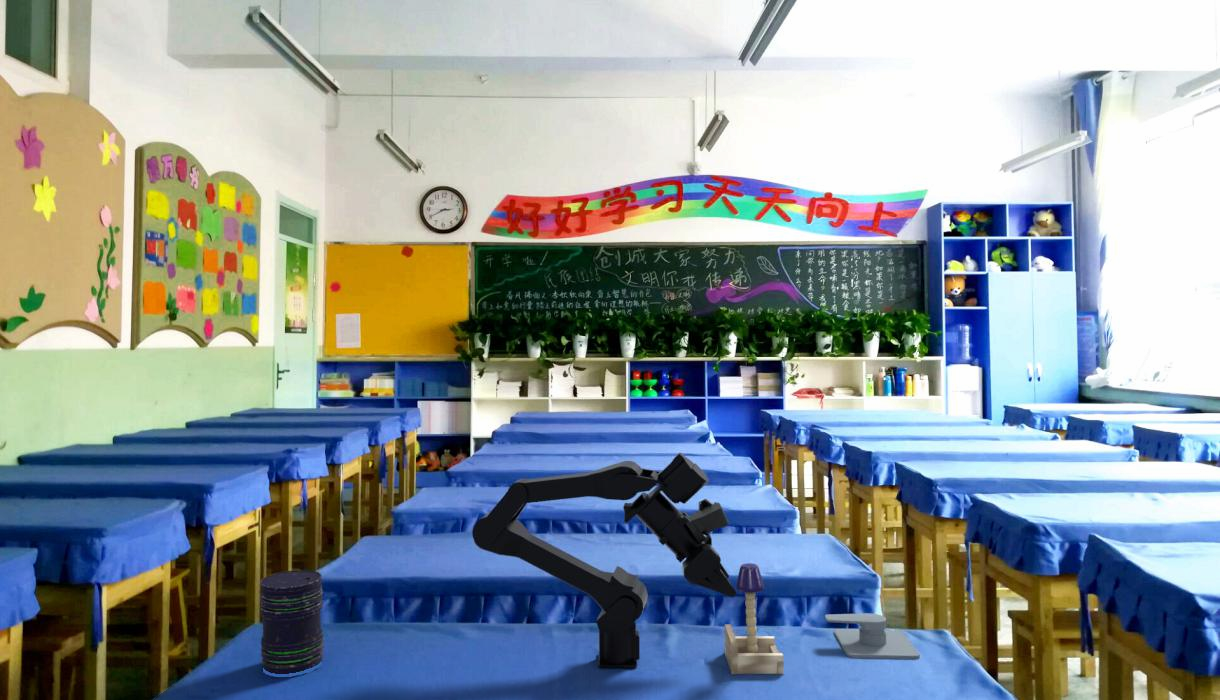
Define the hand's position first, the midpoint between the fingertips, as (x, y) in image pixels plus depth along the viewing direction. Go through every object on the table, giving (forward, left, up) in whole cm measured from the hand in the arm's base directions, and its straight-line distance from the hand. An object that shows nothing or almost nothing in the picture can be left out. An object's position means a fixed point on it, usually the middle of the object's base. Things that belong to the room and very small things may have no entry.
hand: (730, 586), depth 141 cm
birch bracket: (+4, 0, -13) cm, 14 cm away
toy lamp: (+4, 0, -13) cm, 14 cm away
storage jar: (-74, -1, -13) cm, 75 cm away
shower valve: (+26, +8, -14) cm, 30 cm away
